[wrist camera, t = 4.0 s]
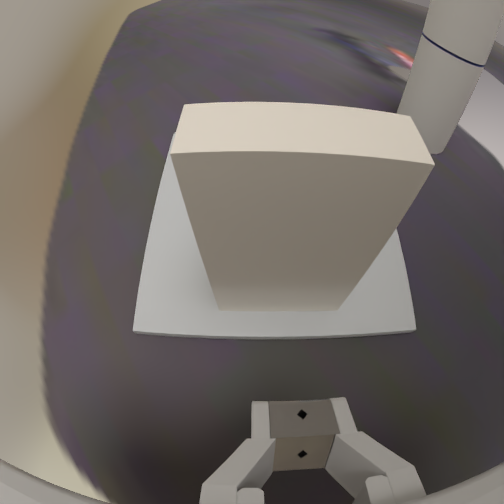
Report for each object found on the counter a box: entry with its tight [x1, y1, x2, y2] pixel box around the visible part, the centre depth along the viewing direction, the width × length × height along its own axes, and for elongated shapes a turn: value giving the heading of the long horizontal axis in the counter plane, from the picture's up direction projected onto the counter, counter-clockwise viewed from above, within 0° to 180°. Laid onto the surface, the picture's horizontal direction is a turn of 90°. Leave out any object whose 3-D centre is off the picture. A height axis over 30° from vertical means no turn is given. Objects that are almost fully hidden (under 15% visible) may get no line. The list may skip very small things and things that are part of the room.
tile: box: [170, 102, 435, 311], centre depth 15 cm, size 8×3×14 cm, turn 89°
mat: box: [133, 133, 416, 339], centre depth 25 cm, size 20×20×1 cm
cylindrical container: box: [396, 0, 504, 154], centre depth 20 cm, size 7×7×25 cm
